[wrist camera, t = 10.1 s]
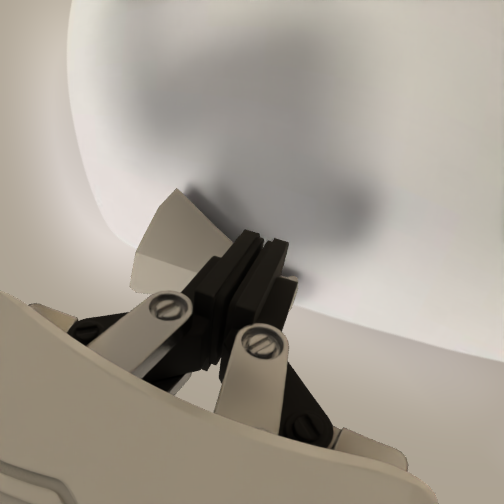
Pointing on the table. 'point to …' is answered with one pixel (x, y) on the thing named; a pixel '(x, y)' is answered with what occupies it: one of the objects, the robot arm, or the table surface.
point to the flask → (177, 247)
